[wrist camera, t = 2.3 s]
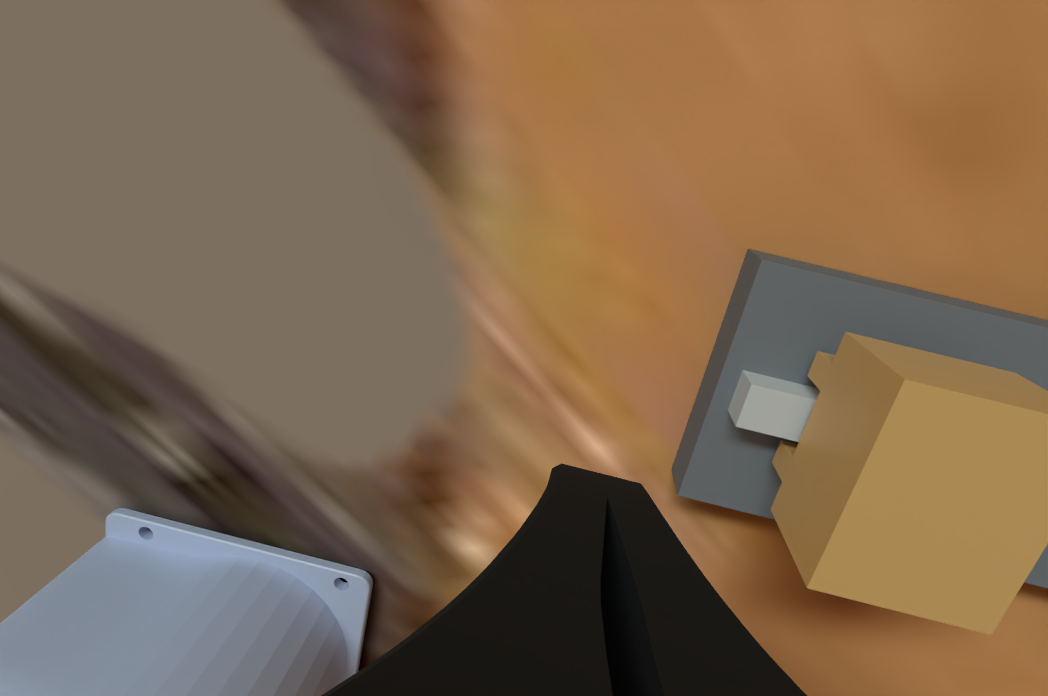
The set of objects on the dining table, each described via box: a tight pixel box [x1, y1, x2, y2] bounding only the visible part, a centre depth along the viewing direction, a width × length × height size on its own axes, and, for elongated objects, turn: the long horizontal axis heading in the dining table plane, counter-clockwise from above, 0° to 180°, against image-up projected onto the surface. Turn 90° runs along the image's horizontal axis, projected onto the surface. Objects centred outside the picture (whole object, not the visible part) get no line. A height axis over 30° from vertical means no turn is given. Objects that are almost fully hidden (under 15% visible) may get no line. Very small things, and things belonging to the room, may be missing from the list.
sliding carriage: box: [771, 332, 1048, 635], centre depth 14 cm, size 4×5×4 cm
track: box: [672, 249, 1048, 588], centre depth 16 cm, size 16×7×5 cm, turn 77°
